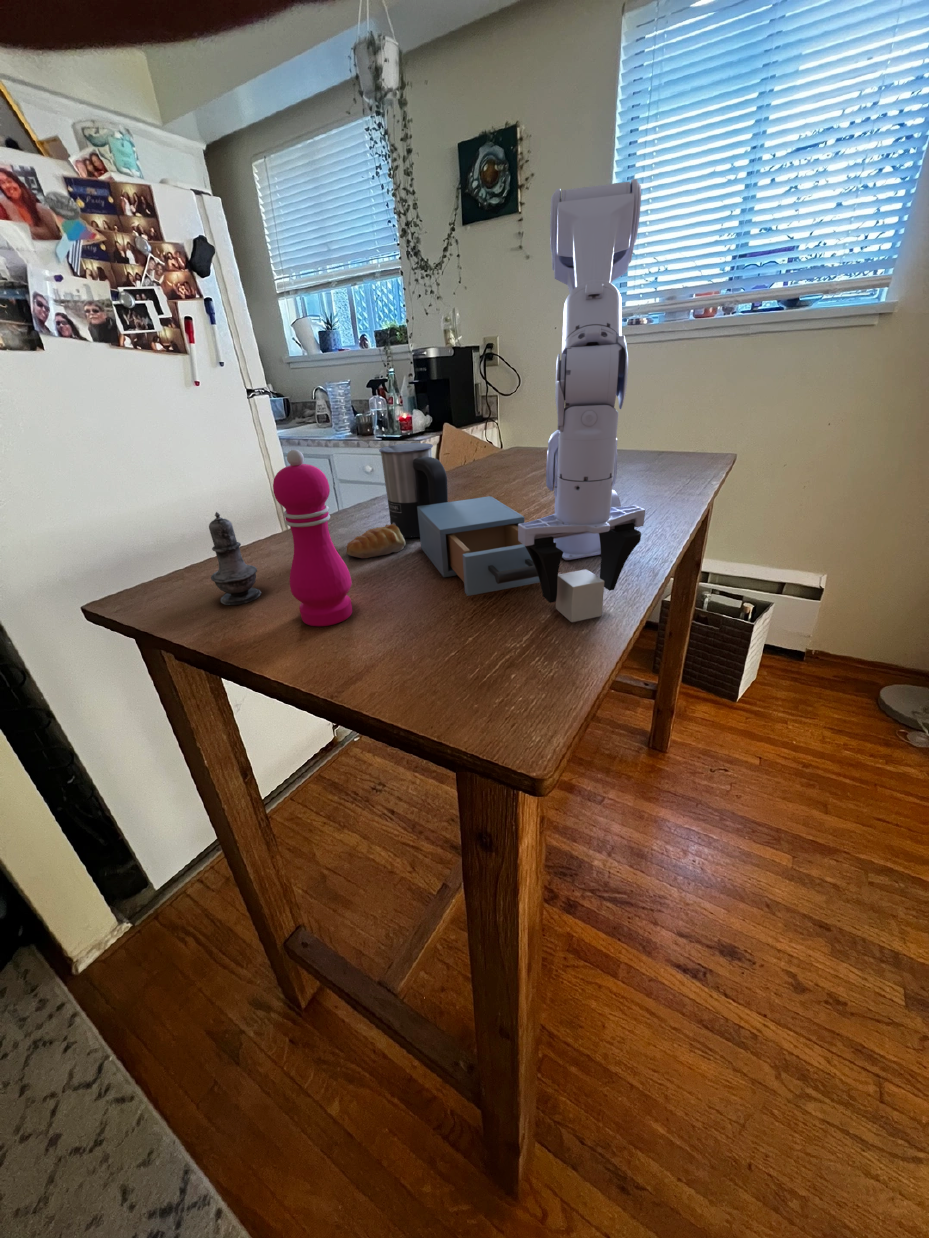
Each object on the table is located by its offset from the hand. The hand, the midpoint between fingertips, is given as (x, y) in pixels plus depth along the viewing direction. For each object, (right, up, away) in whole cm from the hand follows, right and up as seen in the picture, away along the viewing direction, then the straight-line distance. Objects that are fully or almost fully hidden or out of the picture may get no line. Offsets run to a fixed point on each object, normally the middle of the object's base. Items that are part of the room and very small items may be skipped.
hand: (578, 593), depth 59 cm
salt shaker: (-44, 0, +11) cm, 46 cm away
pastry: (-28, +8, +25) cm, 38 cm away
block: (0, -2, +1) cm, 3 cm away
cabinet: (-12, +7, +20) cm, 25 cm away
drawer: (-9, +3, +10) cm, 13 cm away
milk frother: (-19, +14, +34) cm, 42 cm away
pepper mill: (-31, -3, +4) cm, 31 cm away
